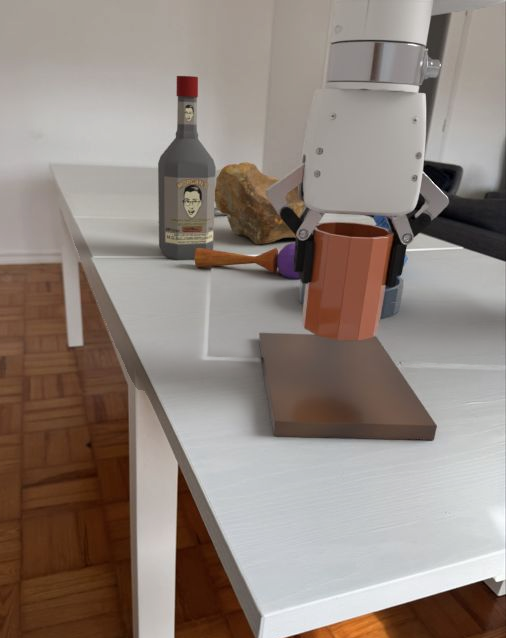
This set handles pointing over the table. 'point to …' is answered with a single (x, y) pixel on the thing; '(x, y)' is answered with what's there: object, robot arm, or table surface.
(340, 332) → the cup
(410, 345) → the table surface
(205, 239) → the liquor
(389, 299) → the bowl
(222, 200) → the rough brown rock
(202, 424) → the table surface
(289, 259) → the kendama
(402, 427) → the board
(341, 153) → the robot arm
